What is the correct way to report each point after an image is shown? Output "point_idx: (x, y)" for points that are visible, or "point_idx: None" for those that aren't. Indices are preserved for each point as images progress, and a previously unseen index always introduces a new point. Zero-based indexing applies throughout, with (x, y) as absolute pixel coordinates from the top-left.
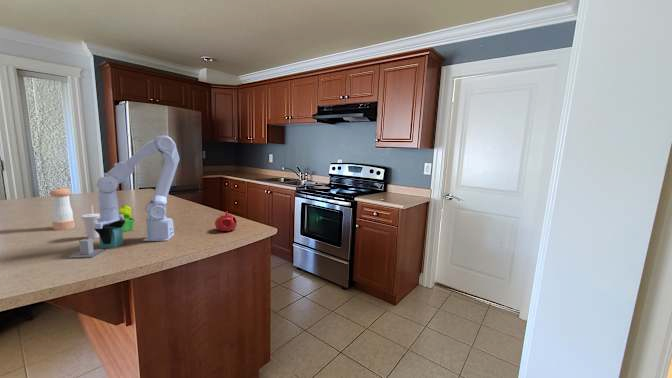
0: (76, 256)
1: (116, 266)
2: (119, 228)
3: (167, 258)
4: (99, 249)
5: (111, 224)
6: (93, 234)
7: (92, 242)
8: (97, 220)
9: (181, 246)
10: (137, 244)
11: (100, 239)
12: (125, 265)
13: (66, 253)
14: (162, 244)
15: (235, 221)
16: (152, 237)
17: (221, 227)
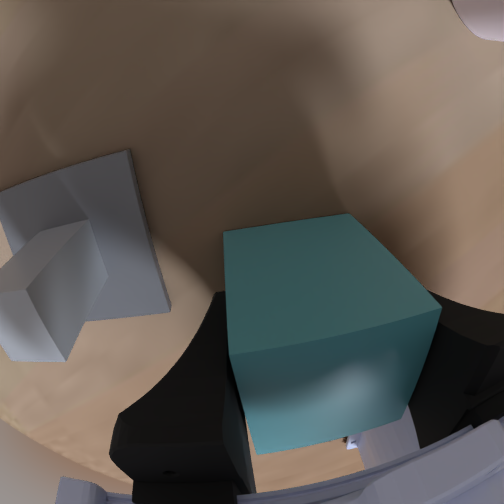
0: (12, 237)
1: (52, 431)
2: (360, 431)
3: None
4: (157, 282)
5: (455, 374)
6: (480, 12)
7: (73, 332)
8: (374, 494)
9: (272, 486)
10: None
11: (226, 285)
12: (71, 445)
13: (68, 65)
14: (299, 453)
15: None
16: None
17: None
